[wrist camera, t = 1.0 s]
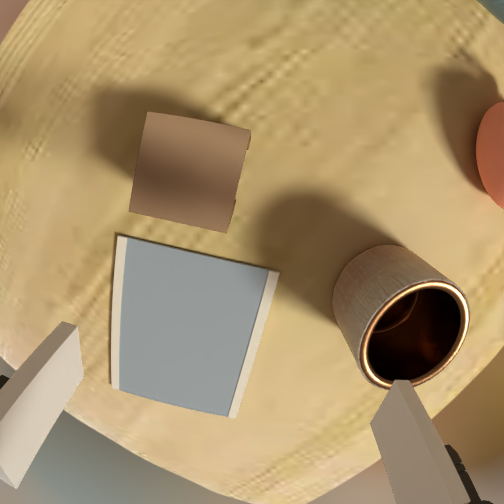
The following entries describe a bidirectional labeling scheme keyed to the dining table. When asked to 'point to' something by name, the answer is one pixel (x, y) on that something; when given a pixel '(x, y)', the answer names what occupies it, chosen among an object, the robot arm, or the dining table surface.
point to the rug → (186, 325)
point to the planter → (399, 316)
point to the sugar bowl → (492, 152)
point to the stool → (188, 170)
